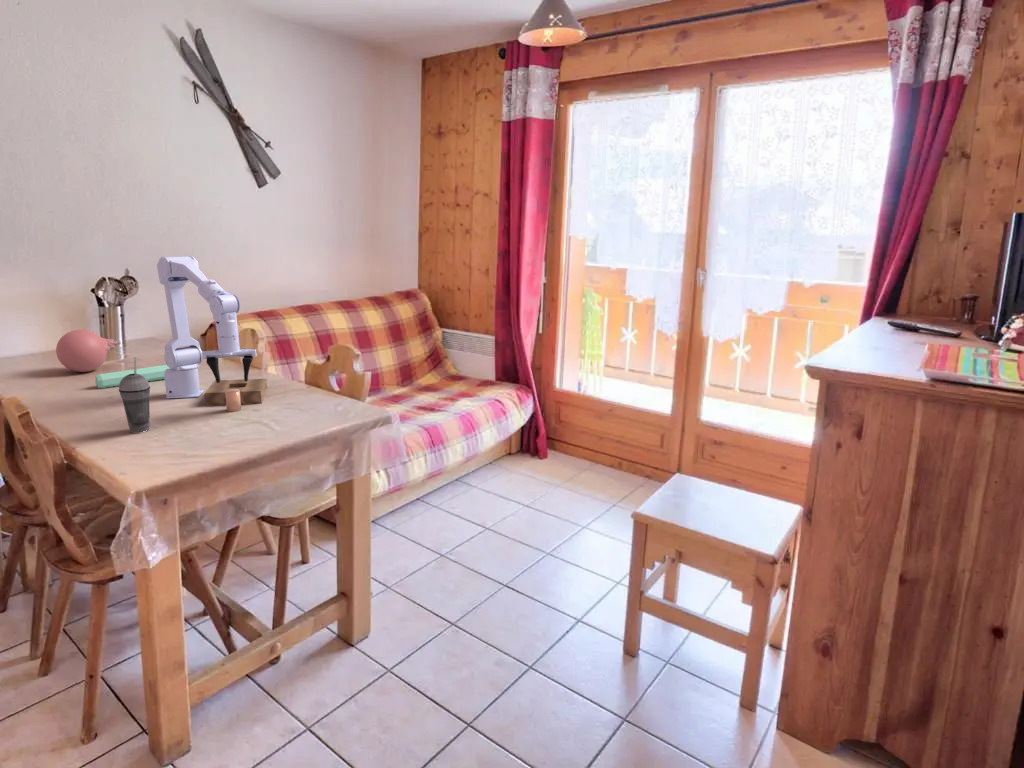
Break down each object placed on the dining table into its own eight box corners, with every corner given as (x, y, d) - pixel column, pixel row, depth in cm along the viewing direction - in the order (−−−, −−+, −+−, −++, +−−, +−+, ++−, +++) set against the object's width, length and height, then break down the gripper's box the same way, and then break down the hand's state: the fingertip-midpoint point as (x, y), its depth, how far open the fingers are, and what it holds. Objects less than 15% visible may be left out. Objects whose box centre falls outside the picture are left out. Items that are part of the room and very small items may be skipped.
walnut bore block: (205, 405, 195) (204, 393, 194) (216, 392, 210) (214, 380, 209) (261, 403, 199) (260, 390, 198) (267, 390, 214) (266, 378, 213)
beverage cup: (132, 426, 175) (123, 354, 170) (160, 426, 175) (151, 354, 170) (118, 435, 168) (108, 360, 163) (147, 434, 168) (138, 360, 163)
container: (94, 371, 209) (176, 360, 226) (91, 375, 214) (172, 364, 230) (99, 389, 209) (180, 376, 226) (96, 392, 213) (176, 380, 230)
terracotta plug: (225, 412, 189) (223, 392, 188) (228, 408, 193) (226, 389, 191) (240, 411, 190) (238, 392, 189) (242, 407, 194) (240, 388, 192)
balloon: (126, 371, 235) (121, 330, 231) (60, 378, 223) (53, 335, 220) (121, 363, 247) (116, 324, 243) (58, 370, 235) (51, 328, 231)
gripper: (197, 339, 181) (203, 385, 184) (252, 337, 184) (256, 383, 188) (202, 335, 187) (207, 380, 191) (255, 333, 191) (259, 377, 194)
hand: (232, 381), depth 190 cm, fingers open, 7 cm apart
